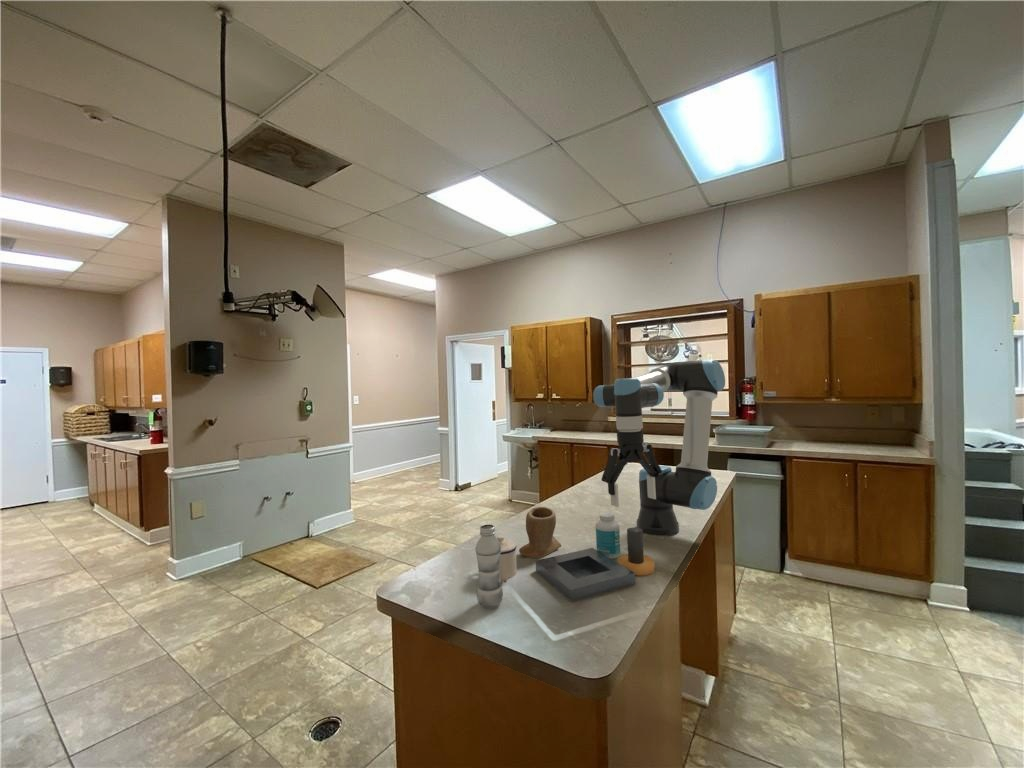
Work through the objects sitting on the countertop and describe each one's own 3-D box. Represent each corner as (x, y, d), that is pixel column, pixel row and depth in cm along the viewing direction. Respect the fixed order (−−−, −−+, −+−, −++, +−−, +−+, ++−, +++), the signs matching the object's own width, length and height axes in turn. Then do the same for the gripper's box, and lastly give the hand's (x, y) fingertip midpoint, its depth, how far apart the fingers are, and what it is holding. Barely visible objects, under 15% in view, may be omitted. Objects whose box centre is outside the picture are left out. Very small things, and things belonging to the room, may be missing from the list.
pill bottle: (621, 562, 127) (619, 518, 127) (597, 561, 128) (595, 518, 129) (620, 552, 134) (618, 511, 134) (597, 551, 136) (595, 510, 136)
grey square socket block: (593, 560, 129) (592, 547, 129) (635, 587, 111) (634, 572, 111) (536, 574, 121) (535, 560, 121) (571, 606, 103) (570, 589, 103)
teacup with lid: (523, 573, 122) (522, 534, 122) (504, 586, 115) (502, 544, 115) (492, 564, 129) (491, 527, 129) (473, 576, 122) (471, 536, 122)
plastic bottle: (477, 599, 108) (473, 523, 108) (502, 597, 108) (499, 521, 109) (477, 613, 101) (473, 531, 102) (504, 610, 102) (500, 530, 102)
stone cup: (541, 565, 127) (539, 517, 127) (514, 555, 136) (512, 510, 136) (571, 550, 138) (569, 505, 138) (544, 542, 146) (542, 500, 146)
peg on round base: (638, 561, 127) (636, 522, 128) (662, 574, 118) (660, 532, 118) (611, 567, 123) (609, 527, 124) (634, 582, 114) (632, 538, 114)
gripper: (653, 425, 130) (657, 492, 130) (586, 433, 120) (591, 505, 120) (671, 427, 123) (675, 497, 123) (602, 435, 113) (606, 512, 113)
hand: (633, 501), depth 121 cm, fingers open, 13 cm apart
